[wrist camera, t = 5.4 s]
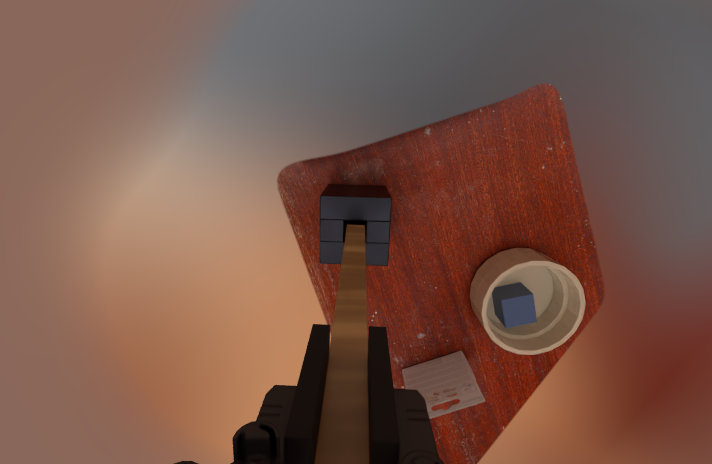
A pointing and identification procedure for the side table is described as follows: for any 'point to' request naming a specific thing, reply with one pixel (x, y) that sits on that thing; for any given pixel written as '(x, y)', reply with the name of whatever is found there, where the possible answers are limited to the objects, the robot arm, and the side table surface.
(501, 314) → the block
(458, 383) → the ink box
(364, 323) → the stick
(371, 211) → the stand
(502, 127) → the side table surface
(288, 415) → the robot arm
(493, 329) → the bowl
